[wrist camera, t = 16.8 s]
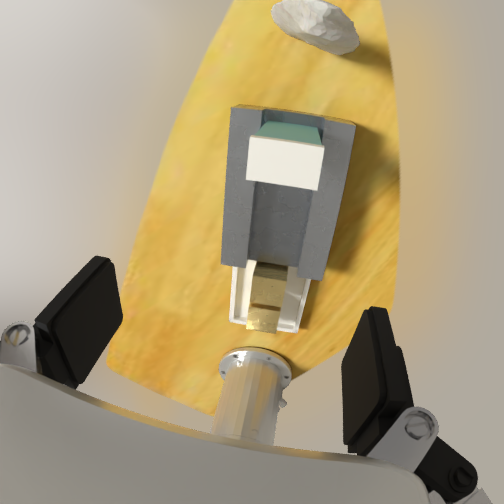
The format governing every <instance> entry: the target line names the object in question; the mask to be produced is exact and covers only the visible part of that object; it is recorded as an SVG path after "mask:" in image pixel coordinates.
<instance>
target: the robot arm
mask: <svg viewBox="0 0 504 504" xmlns="http://www.w3.org/2000/svg"><path fill="white" fill-rule="evenodd" d="M122 320H123V313H122V308H121V303H120V297H119V292H118V286H117V280H116V274H115V267H114V264H113V263H111V260H110V259H109V258H106V257H101V256H95V257H93V258H92V259H91V260H90V261H89V262H88V263H87V264H86V265H85V266H84V267H83V268H82V269H81V270H80V272H78V274H77V275H75V276H74V278H72V280H71V281H70V282H69V283H68V284H67V285H66V286H65V287H64V288H63V289H62V290H61V291H60V292H59V293H58V294H57V295H56V296H55V298H54V299H53V300H52V301H51V302H50V303H49V304H48V305H47V307H46V308H45V309H44V310H43V311H42V312H41V313H40V314H39V315H38V316H37V318H36V319H35V324H34V325H33V326H32V325H31V324H30V323H28V322H25V321H18V322H15V323H12V324H11V325H9V326H8V327H7V328H6V329H5V330H4V332H3V333H2V337H1V341H0V504H492V503H491V501H490V500H489V498H488V496H487V495H486V493H485V492H484V490H483V489H482V488H481V489H478V488H477V486H476V485H477V480H478V476H477V472H476V469H475V468H474V466H473V465H472V464H471V463H470V462H469V461H467V460H466V459H465V458H464V457H462V456H461V455H460V454H459V453H457V452H456V451H455V450H454V449H452V448H451V447H450V446H449V445H448V444H446V443H445V442H444V441H443V440H441V439H440V438H439V437H438V436H437V434H438V428H439V426H438V422H437V420H436V418H435V416H434V415H433V414H432V413H431V412H430V411H428V410H426V409H425V408H421V407H414V404H413V398H412V393H411V388H410V384H409V379H408V374H407V370H406V365H405V361H404V357H403V353H402V350H401V348H400V347H399V346H396V344H395V340H394V335H393V332H392V328H391V324H390V320H389V316H388V312H387V309H386V308H380V307H373V306H371V307H370V308H369V310H364V312H363V314H362V316H361V319H360V321H359V323H358V326H357V328H356V331H355V333H354V335H353V338H352V340H351V342H350V344H349V347H348V349H347V351H346V353H345V356H344V358H343V361H342V366H341V370H342V396H343V442H344V444H345V445H348V453H357V455H349V454H340V453H329V452H318V451H309V450H301V449H293V448H286V447H278V446H273V443H274V436H275V429H276V422H277V414H278V412H279V410H280V408H279V405H280V406H281V407H282V408H283V407H285V406H286V405H287V402H286V401H285V400H284V399H282V391H283V389H285V388H286V387H287V386H288V385H289V383H290V381H291V377H292V371H291V367H290V365H289V364H288V363H287V361H286V360H285V359H283V358H282V357H281V356H279V355H278V354H276V353H274V352H271V351H269V350H265V349H261V348H254V347H244V348H238V349H234V350H232V351H230V352H228V353H226V354H225V355H224V356H223V357H222V359H221V361H220V364H219V373H220V375H221V377H222V378H223V380H224V384H223V387H222V391H221V395H220V398H219V402H218V405H217V409H216V412H215V416H214V420H213V423H212V427H211V431H210V434H209V433H205V432H201V431H197V430H193V429H189V428H185V427H181V426H178V425H174V424H171V423H167V422H163V421H160V420H157V419H153V418H150V417H147V416H144V415H141V414H138V413H135V412H132V411H129V410H126V409H123V408H121V407H118V406H115V405H112V404H110V403H107V402H104V401H101V400H99V399H97V398H94V397H91V396H89V395H87V394H84V393H82V392H79V391H77V390H76V388H77V387H78V385H79V384H82V383H83V382H84V381H85V379H86V378H87V376H88V374H89V373H90V371H91V370H92V368H93V366H94V365H95V363H96V362H97V360H98V358H99V357H100V355H101V354H102V352H103V350H104V349H105V347H106V346H107V344H108V343H109V341H110V340H111V338H112V337H113V335H114V334H115V332H116V331H117V329H118V328H119V326H120V325H121V323H122ZM65 385H66V386H65Z"/></svg>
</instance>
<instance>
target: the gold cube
mask: <svg viewBox="0 0 504 504" xmlns="http://www.w3.org/2000/svg"><path fill="white" fill-rule="evenodd" d="M288 267H289V266H285V265H279V264H273V263H267V262H261V261H257V262H256V265H255V269H254V272H253V277H252V285H251V294H250V302H253V303H259V304H264V305H270V306H276V307H282V303H283V298H284V293H285V288H286V283H287V275H288Z"/></svg>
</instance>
